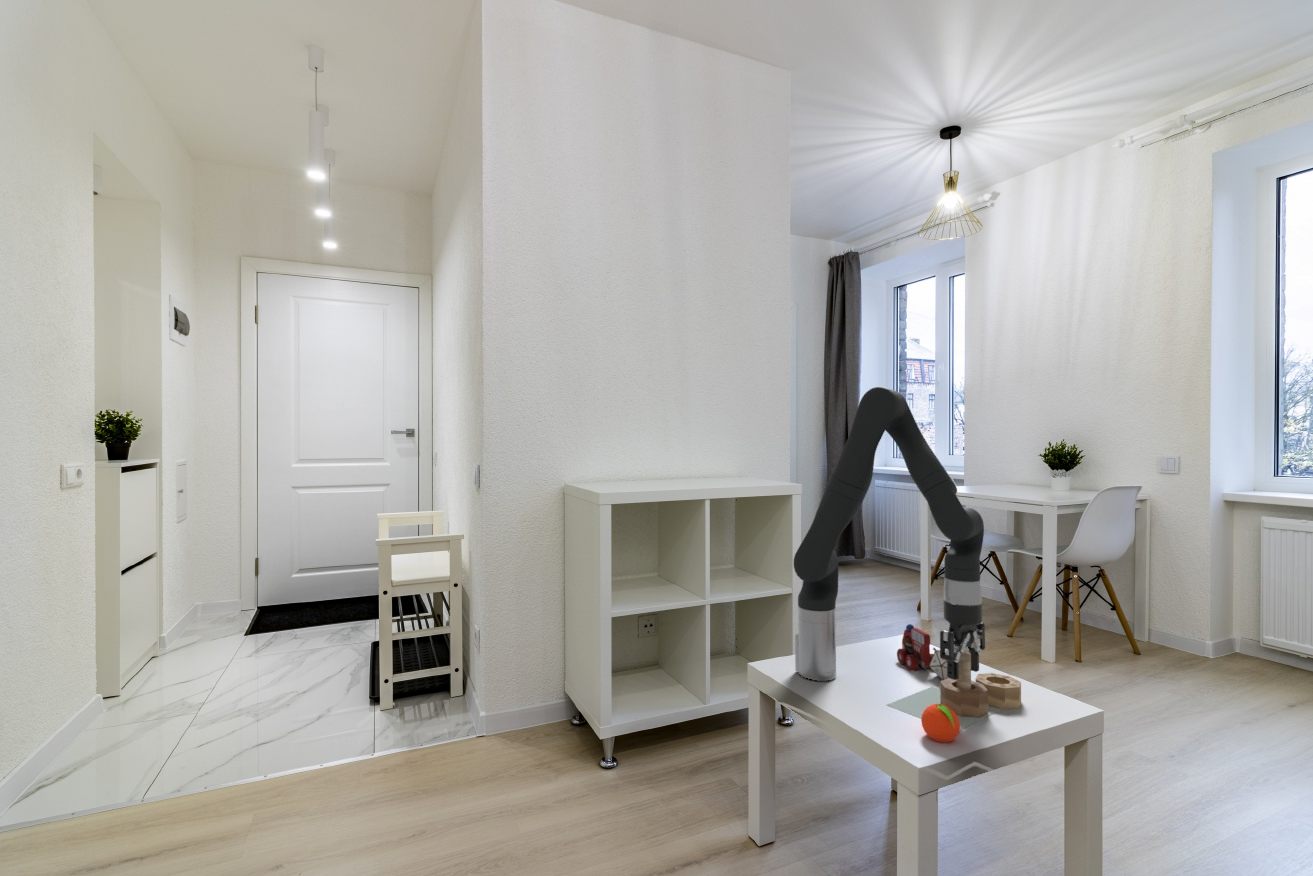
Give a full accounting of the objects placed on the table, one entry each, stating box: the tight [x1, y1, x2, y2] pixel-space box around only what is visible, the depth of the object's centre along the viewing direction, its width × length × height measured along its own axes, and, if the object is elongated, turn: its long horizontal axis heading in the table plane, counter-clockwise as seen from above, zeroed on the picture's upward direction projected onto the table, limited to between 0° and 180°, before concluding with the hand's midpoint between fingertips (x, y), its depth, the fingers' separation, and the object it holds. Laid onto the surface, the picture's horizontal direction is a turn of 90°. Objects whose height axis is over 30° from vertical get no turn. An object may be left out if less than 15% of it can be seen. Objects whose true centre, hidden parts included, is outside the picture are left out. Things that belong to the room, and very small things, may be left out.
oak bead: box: [975, 672, 1022, 710], centre depth 139 cm, size 9×9×5 cm
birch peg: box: [957, 650, 972, 690], centre depth 135 cm, size 3×3×12 cm
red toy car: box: [896, 623, 933, 672], centre depth 163 cm, size 7×12×10 cm, turn 4°
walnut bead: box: [939, 678, 989, 718], centre depth 135 cm, size 9×9×5 cm
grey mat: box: [886, 686, 1001, 731], centre depth 135 cm, size 16×18×1 cm
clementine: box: [920, 704, 961, 743], centre depth 121 cm, size 8×7×7 cm
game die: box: [925, 647, 956, 681], centre depth 153 cm, size 9×8×10 cm
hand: (963, 674), depth 135 cm, fingers open, 8 cm apart
